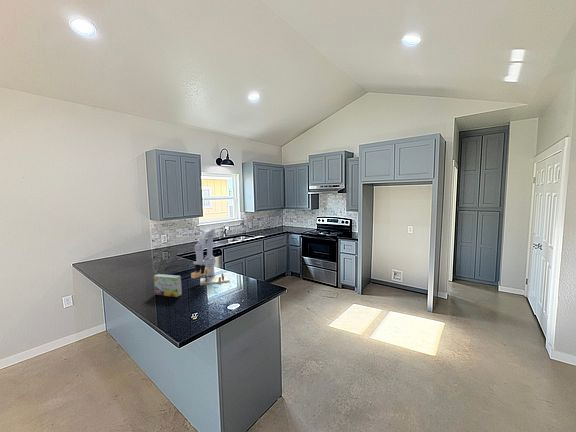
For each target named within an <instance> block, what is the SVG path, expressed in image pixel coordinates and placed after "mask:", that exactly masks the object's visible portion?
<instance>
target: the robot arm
mask: <svg viewBox="0 0 576 432" xmlns="http://www.w3.org/2000/svg"><path fill="white" fill-rule="evenodd" d="M215 235H216V232H215V229H214V228H212V227H211V228H203V229H202V236H201V237H200V238H199V239H198V240H197V243H196V244H194V247H193V248H194V252H195V257H196V258H195V260H196V261H194V262H193V265H194V268H195V269H196V270H195V271H199V270H201V273H202V274H203V273H204V270H205V268H210V273H208V274H206V275H205V276H207V277H215V276H216V274H215V265H216V262H217V261H216V257H215V256H214V255H213V247H214V245H213V244H214V241H213V240H214V238H215V237H216V236H215ZM206 239H207V240H206ZM206 241H207V246H206V248H207V249H206V255H205V257H204V249H205V244H206Z"/></svg>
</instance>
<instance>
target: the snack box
mask: <svg viewBox="0 0 576 432" xmlns="http://www.w3.org/2000/svg"><path fill="white" fill-rule="evenodd" d="M153 282H154V283H153V285H154V294H155V295H156V296H163V297H164V296H165V297H174V298H178V297H180V296H182V295H183V289H182V276H181V275H175V274H163V273H161V274H160V273H157V274H155V275H153Z"/></svg>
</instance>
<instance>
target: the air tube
mask: <svg viewBox="0 0 576 432" xmlns="http://www.w3.org/2000/svg"><path fill="white" fill-rule="evenodd" d="M208 273H210V268H206V267H205V270H204V273H203V274H202V273H201V269H200V270H199V271H197V270H195V271H194V272H191V273H190V276H191V277H190V278H191V279H197V278H201V277H203V276H206V274H208Z"/></svg>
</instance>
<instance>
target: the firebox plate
mask: <svg viewBox="0 0 576 432" xmlns="http://www.w3.org/2000/svg"><path fill="white" fill-rule="evenodd" d="M199 278H200V281H199V285H200V286H208V285H215V284H216V285H217V284H223V283H224V284H225V283H230V278H229V275H228V274H225V275H224V273H221V275H215V276H206V275H204V277H199Z"/></svg>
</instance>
